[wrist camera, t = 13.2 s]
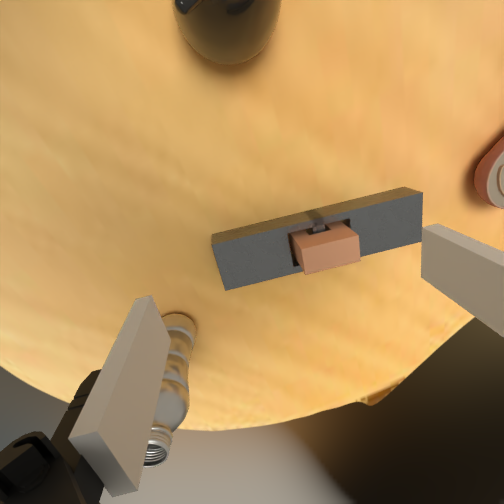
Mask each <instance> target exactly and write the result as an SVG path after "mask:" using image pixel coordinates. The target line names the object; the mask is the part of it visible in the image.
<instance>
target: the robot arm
mask: <svg viewBox="0 0 504 504" xmlns="http://www.w3.org/2000/svg"><path fill="white" fill-rule="evenodd" d="M421 278H423V279H424V280H425V281H427V282H428V283H430V284H431V285H432V286H434V287H435V288H436V289H438V290H439V291H441V292H442V293H443V294H445V295H446V296H447V297H449V298H450V299H452V300H453V301H454V302H456V303H457V304H458V305H460V306H461V307H463V308H464V309H465V310H467V311H468V312H469V313H471V314H472V315H474V316H475V317H476V318H478V319H479V320H481V321H482V322H483V323H485V324H486V325H488V326H489V327H490V328H491V329H493V330H494V331H496V332H497V333H498V334H500V335H501V336H502V337H504V252H503V251H501V250H498V249H496V248H494V247H491V246H489V245H487V244H484V243H482V242H480V241H477V240H475V239H473V238H470V237H468V236H466V235H463V234H461V233H459V232H456V231H454V230H452V229H449V228H447V227H445V226H442V225H440V224H434V225H430V226H426V227H422V252H421ZM170 343H171V339H170V336H169V334H168V332H167V330H166V327H165V325H164V323H163V320H162V318H161V316H160V313H159V311H158V309H157V306H156V304H155V302H154V299H153V297H152V295H150V296H146V297H142V298H138V299H135V301H134V304H133V306H132V308H131V310H130V312H129V314H128V316H127V318H126V320H125V322H124V324H123V326H122V328H121V330H120V332H119V334H118V337H117V339H116V341H115V343H114V345H113V347H112V349H111V351H110V353H109V355H108V357H107V359H106V361H105V363H104V365H103V367H102V369H100V370H96V371H92V372H91V373H90V375H89V376H88V377H87V378H86V379H85V380H84V381H83V382H82V383H81V385H80V386H79V388H78V390H77V392H76V394H75V396H74V400H72V401H71V403H70V405H69V407H68V411H66V413H65V414H64V416H63V418H62V420H61V422H60V424H59V426H58V427H57V429H56V431H55V433H54V435H53V437H52V438H51V440H49V439H48V438H47V437H46V435H45V434H44V433H42V432H31V433H28V434H25V435H23V436H21V437H20V438H18V439H16V440H15V441H13V442H12V443H10V444H9V445H8V446H7V447H6V448H4V449H3V450H2V451H1V452H0V504H100V503H99V500H100V497H101V494H102V491H103V488H104V487H105V488H106V489H107V491H108V492H109V493H110V495H111V496H112V497H115V496H119V495H123V494H127V493H130V492H135V491H138V487H139V483H140V478H141V474H142V469H143V465H144V460H145V456H146V451H147V447H148V442H149V438H150V433H151V429H152V424H153V420H154V415H155V411H156V406H157V402H158V397H159V393H160V388H161V384H162V379H163V375H164V370H165V365H166V361H167V356H168V352H169V347H170Z"/></svg>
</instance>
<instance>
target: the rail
mask: <svg viewBox="0 0 504 504" xmlns="http://www.w3.org/2000/svg"><path fill="white" fill-rule="evenodd" d="M422 204H423V192H420V191H416V190H413V189H410V188H407V187H402V188H398V189H393V190H389V191H385V192H381V193H377V194H373V195H369V196H365V197H361V198H357V199H353V200H349V201H345V202H341V203H337V204H333V205H329V206H325V207H321V208H317V209H313V210H309V211H305V212H301V213H297V214H293V215H289V216H285V217H281V218H277V219H273V220H269V221H265V222H261V223H257V224H252V225H248V226H244V227H240V228H236V229H232V230H228V231H224V232H220V233H216V234H212V248H213V251H214V255H215V258H216V261H217V264H218V268H219V271H220V274H221V278H222V281H223V284H224V287H225V291H226V290H230V289H234V288H238V287H242V286H246V285H250V284H254V283H258V282H262V281H266V280H270V279H274V278H278V277H282V276H286V275H290V274H294V273H298V272H302V271H303V270H302V268H301V266H300V265H299V263H298V261H297V260H296V258H295V256H294V255H293V254H291V251H290V246H289V241H288V235H287V234H288V233H292V232H296V231H300V230H304V229H306V232H307V233H308V235H312V234H316V233H320V232H324V231H325V224H328V223H332V222H336V221H341V222H342V223H343V224H345V225H346V226H347V227H349V228H350V229H351V230H353V231H354V232H355V233H357V234H358V235H359V247H360V257H362V256H366V255H370V254H374V253H378V252H382V251H386V250H390V249H394V248H398V247H402V246H406V245H410V244H414V243H418V242H422Z"/></svg>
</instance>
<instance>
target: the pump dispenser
mask: <svg viewBox="0 0 504 504" xmlns="http://www.w3.org/2000/svg"><path fill="white" fill-rule="evenodd" d="M171 1H172V7H173V11H174V15H175V18H176V21H177V23H178V26H179V28H180V30H181V32H182V34H183V36H184V37H185V39H186V40H187V42H188V43H189V44H190V45H191V46H192V48H193V49H194V50H195V51H196V52H198V53H199V54H200V55H201V56H203V57H204V58H206V59H208V60H210V61H212V62H215V63H218V64H223V65H236V64H240V63H244V62H246V61H248V60H250V59H252V58H253V57H255V56H256V55H257V54H258V53H259V52H260V51H261V50H262V49H263V48H264V47H265V46H266V44H267V43H268V41H269V40H270V38H271V36H272V34H273V32H274V30H275V27H276V24H277V21H278V17H279V13H280V8H281V1H282V0H171Z"/></svg>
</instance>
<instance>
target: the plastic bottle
mask: <svg viewBox="0 0 504 504" xmlns="http://www.w3.org/2000/svg"><path fill="white" fill-rule="evenodd" d="M162 320H163V323H164V325H165V327H166V330H167V332H168V334H169V336H170V339H171V343H170V347H169V352H168V356H167V361H166V365H165V370H164V375H163V379H162V384H161V388H160V393H159V397H158V402H157V406H156V411H155V415H154V420H153V424H152V429H151V433H150V438H149V442H148V447H147V451H146V456H145V460H144V465H143V467H144V468H150V467H156V466H158V465H161V464H162V463H164V462H165V461H166V460H167V458H168V455H169V450H170V445H171V443H172V438H173V435H172V433H173V432H174V431H175V430H176V429H177V427H178V426H179V425H180V424H181V423H182V422H183V420H184V419H185V417H186V414H187V412H188V410H189V386H188V369H189V360H190V356H191V351H192V349H193V346H194V344H195V340H196V328H195V325H194V323H193V321H192V320H191V319H190V318H188V317H187V316H185V315H182V314H169V315H166V316H164V317H162Z"/></svg>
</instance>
